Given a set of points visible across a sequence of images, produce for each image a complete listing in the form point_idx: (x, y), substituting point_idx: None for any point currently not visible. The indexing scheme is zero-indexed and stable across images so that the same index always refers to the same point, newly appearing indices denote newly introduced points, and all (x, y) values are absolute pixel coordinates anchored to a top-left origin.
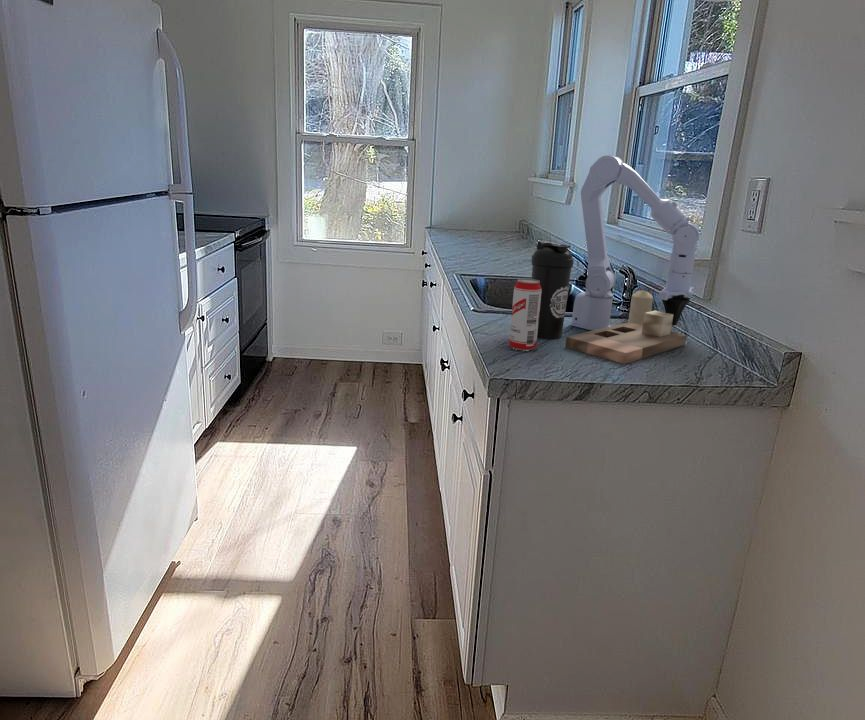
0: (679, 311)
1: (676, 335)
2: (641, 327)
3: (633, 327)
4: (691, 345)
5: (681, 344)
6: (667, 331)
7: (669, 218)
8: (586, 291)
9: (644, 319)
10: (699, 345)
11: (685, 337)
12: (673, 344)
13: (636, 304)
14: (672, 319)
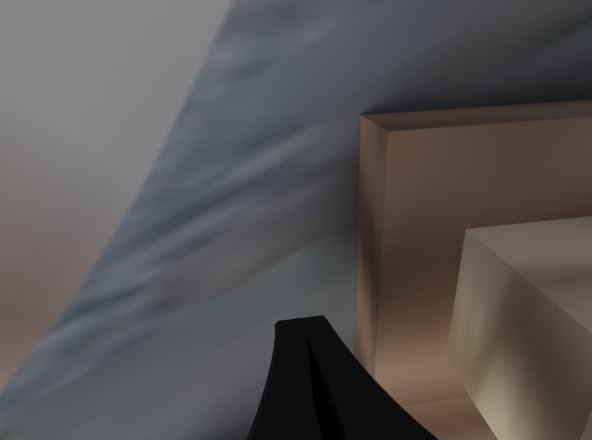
0: (354, 423)
1: (473, 174)
2: (443, 414)
3: (485, 429)
4: (319, 77)
5: (423, 113)
6: (542, 236)
7: None
8: None
9: None
10: (253, 35)
11: (391, 127)
12: (571, 106)
13: None
14: (563, 307)
